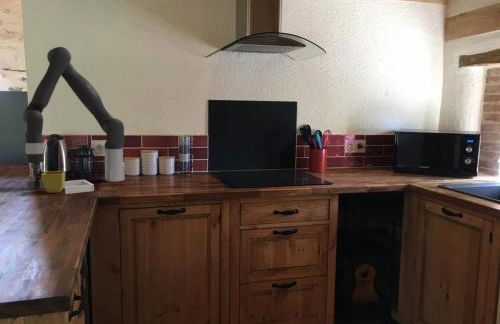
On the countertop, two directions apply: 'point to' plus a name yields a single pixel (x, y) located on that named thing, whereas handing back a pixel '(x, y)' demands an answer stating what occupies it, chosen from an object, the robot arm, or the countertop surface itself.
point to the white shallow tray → (78, 186)
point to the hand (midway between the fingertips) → (36, 187)
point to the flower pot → (53, 181)
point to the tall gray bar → (31, 184)
